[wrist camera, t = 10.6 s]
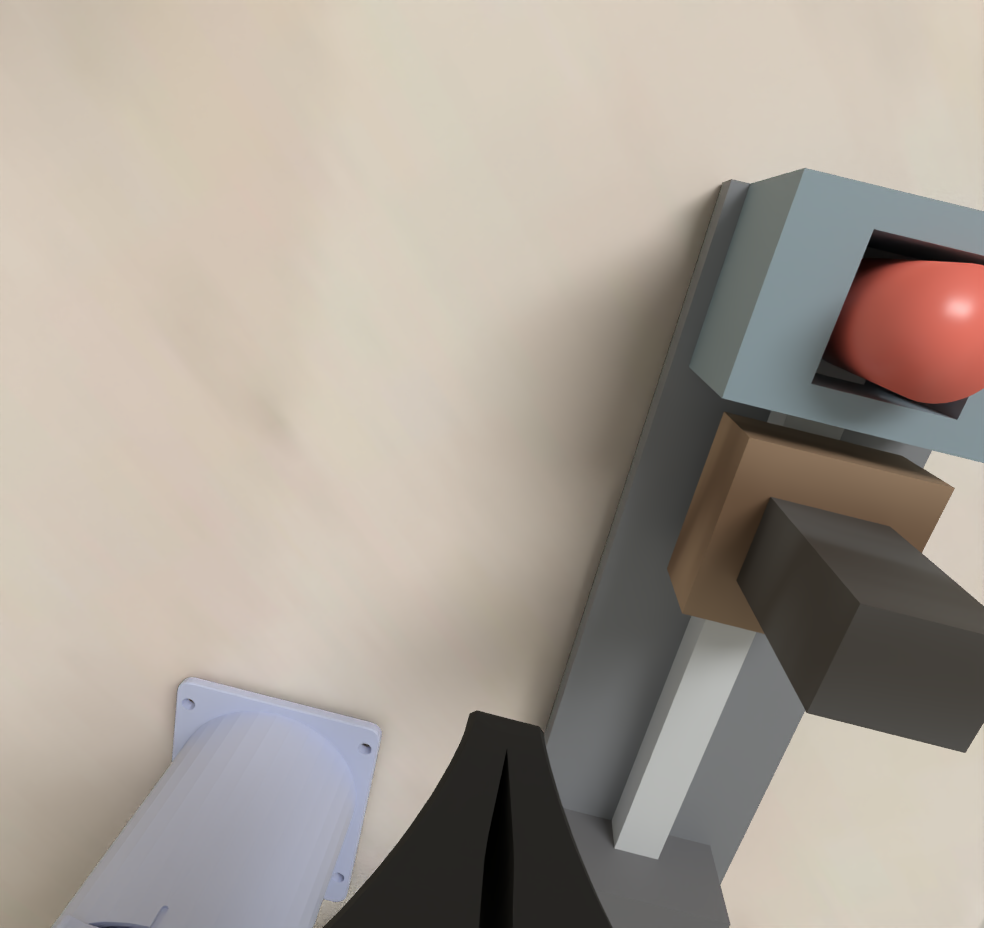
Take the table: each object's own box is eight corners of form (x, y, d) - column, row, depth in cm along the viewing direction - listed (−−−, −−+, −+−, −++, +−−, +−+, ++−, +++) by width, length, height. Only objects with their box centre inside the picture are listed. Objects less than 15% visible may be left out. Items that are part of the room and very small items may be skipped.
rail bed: (712, 865, 26) (746, 1003, 21) (517, 816, 26) (509, 942, 22) (1004, 250, 18) (1161, 255, 13) (722, 182, 18) (781, 162, 13)
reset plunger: (890, 379, 17) (983, 417, 14) (787, 354, 17) (851, 385, 14) (938, 272, 16) (1052, 282, 13) (829, 245, 16) (910, 247, 13)
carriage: (829, 609, 20) (984, 817, 12) (667, 568, 20) (729, 753, 13) (902, 455, 18) (1128, 596, 11) (724, 411, 18) (833, 522, 11)
